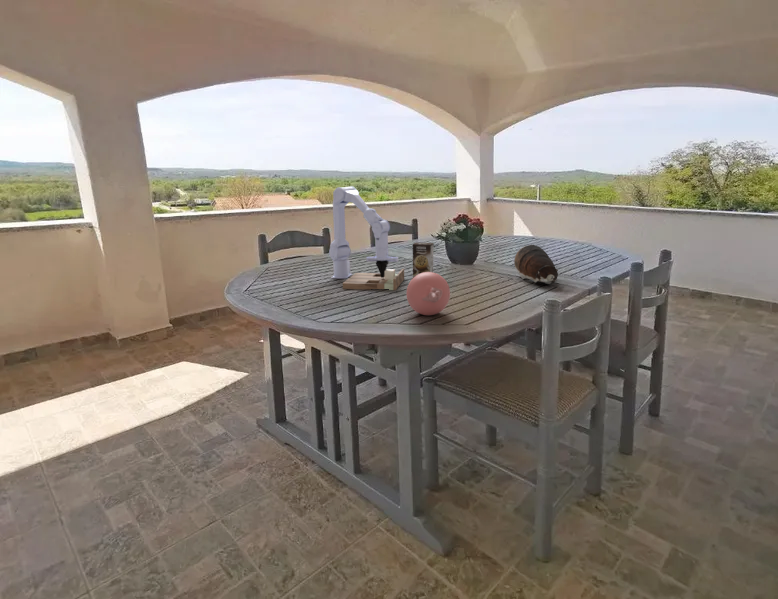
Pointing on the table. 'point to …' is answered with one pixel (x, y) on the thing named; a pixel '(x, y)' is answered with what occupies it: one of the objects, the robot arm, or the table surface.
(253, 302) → the table surface
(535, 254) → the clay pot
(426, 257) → the cookie box
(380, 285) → the deck
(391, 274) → the block
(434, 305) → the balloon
